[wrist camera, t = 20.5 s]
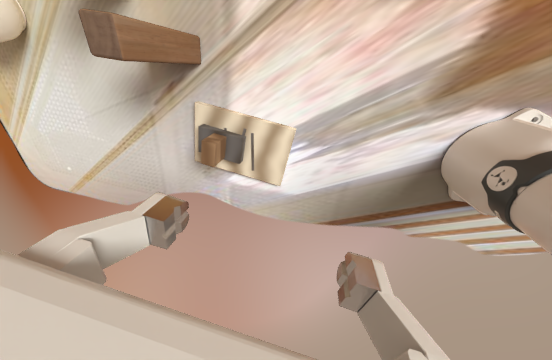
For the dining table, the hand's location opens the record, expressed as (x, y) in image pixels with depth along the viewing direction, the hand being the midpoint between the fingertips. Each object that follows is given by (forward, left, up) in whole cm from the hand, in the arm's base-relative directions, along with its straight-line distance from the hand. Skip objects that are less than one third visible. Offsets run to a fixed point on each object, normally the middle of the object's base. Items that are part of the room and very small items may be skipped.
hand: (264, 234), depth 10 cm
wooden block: (+27, -5, -34) cm, 44 cm away
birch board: (+12, +11, -34) cm, 38 cm away
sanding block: (+16, +11, -32) cm, 38 cm away
